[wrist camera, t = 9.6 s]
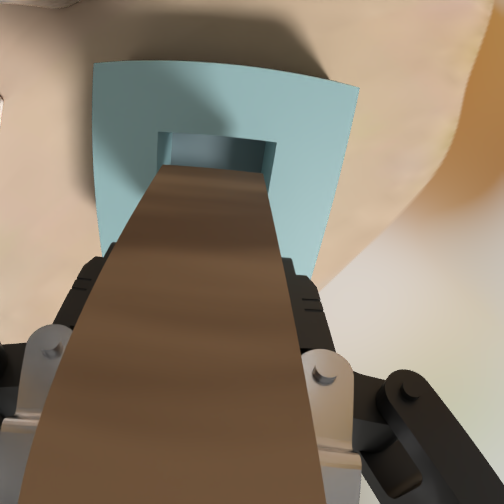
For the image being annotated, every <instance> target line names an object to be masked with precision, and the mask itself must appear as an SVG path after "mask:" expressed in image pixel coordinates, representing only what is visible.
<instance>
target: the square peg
mask: <svg viewBox="0 0 504 504" xmlns="http://www.w3.org/2000/svg"><path fill="white" fill-rule="evenodd" d="M18 504H326V497H325V491H324V484H323V478H322V472H321V465H320V459H319V453H318V447H317V441H316V436H315V430H314V424H313V418H312V412H311V407H310V401H309V396H308V390H307V385H306V379H305V374H304V368H303V363H302V358H301V353H300V347H299V342H298V337H297V332H296V327H295V322H294V317H293V312H292V307H291V302H290V297H289V292H288V287H287V282H286V277H285V272H284V267H283V263H282V258H281V253H280V248H279V244H278V239H277V234H276V230H275V225H274V221H273V216H272V211H271V207H270V202H269V198H268V193H267V189H266V184H265V180H264V176H263V173H254V172H245V171H236V170H226V169H215V168H204V167H192V166H178V165H162V166H161V168H160V169H159V171H158V172H157V174H156V176H155V177H154V179H153V180H152V182H151V184H150V185H149V187H148V188H147V190H146V192H145V193H144V195H143V197H142V198H141V200H140V202H139V203H138V205H137V207H136V208H135V210H134V212H133V213H132V215H131V217H130V219H129V220H128V222H127V224H126V226H125V227H124V229H123V231H122V233H121V235H120V236H119V238H118V240H117V242H116V244H115V246H114V247H113V249H112V251H111V253H110V255H109V257H108V259H107V261H106V263H105V264H104V266H103V268H102V270H101V272H100V274H99V276H98V278H97V280H96V282H95V284H94V286H93V288H92V290H91V292H90V295H89V297H88V299H87V301H86V303H85V305H84V307H83V309H82V312H81V314H80V316H79V318H78V320H77V323H76V325H75V327H74V330H73V332H72V334H71V336H70V339H69V341H68V344H67V346H66V348H65V351H64V353H63V356H62V358H61V361H60V363H59V366H58V368H57V371H56V374H55V376H54V379H53V382H52V384H51V387H50V390H49V393H48V395H47V398H46V401H45V404H44V407H43V410H42V413H41V416H40V419H39V422H38V426H37V429H36V432H35V435H34V439H33V442H32V446H31V449H30V453H29V457H28V460H27V464H26V468H25V472H24V476H23V481H22V485H21V490H20V494H19V499H18Z"/></svg>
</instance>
